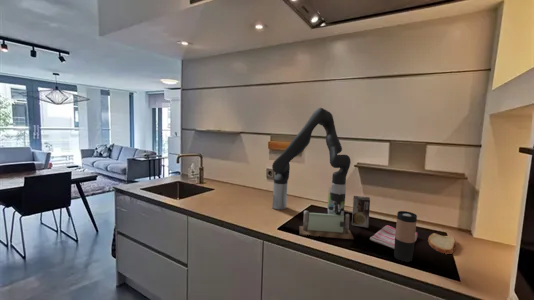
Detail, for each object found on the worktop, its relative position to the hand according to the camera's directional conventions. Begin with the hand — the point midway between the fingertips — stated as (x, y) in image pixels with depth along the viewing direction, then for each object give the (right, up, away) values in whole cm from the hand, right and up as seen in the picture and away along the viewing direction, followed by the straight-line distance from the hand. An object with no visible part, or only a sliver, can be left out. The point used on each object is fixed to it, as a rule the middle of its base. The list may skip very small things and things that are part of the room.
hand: (336, 222), depth 142 cm
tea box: (+7, -2, +31) cm, 32 cm away
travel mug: (+22, -8, -27) cm, 36 cm away
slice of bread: (+50, -8, -12) cm, 52 cm away
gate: (-7, -3, -4) cm, 8 cm away
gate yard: (-7, -4, -4) cm, 9 cm away
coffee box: (+16, -4, +10) cm, 19 cm away
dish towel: (+27, -7, -8) cm, 29 cm away
